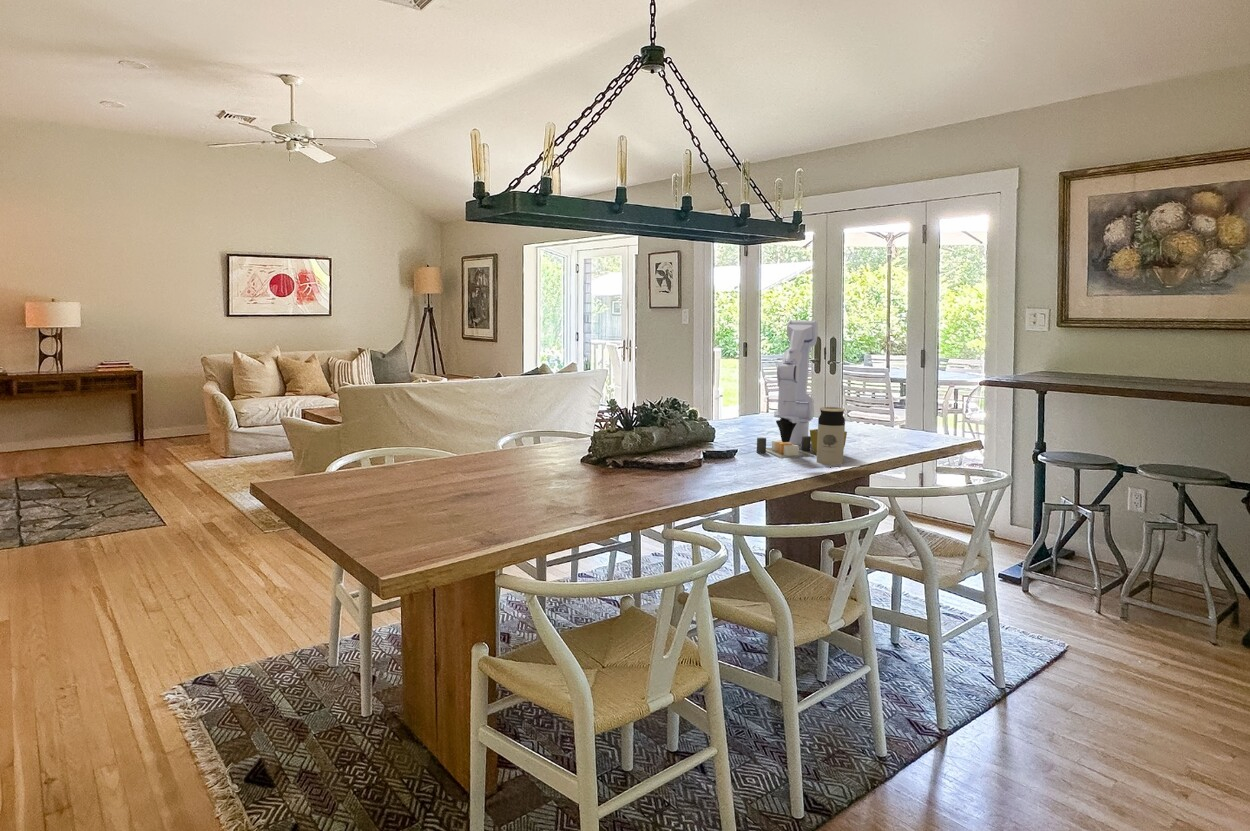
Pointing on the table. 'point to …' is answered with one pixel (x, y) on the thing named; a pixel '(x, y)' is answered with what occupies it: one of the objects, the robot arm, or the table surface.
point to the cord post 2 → (805, 443)
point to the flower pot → (815, 437)
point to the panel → (781, 455)
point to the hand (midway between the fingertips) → (785, 441)
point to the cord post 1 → (761, 445)
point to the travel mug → (831, 436)
